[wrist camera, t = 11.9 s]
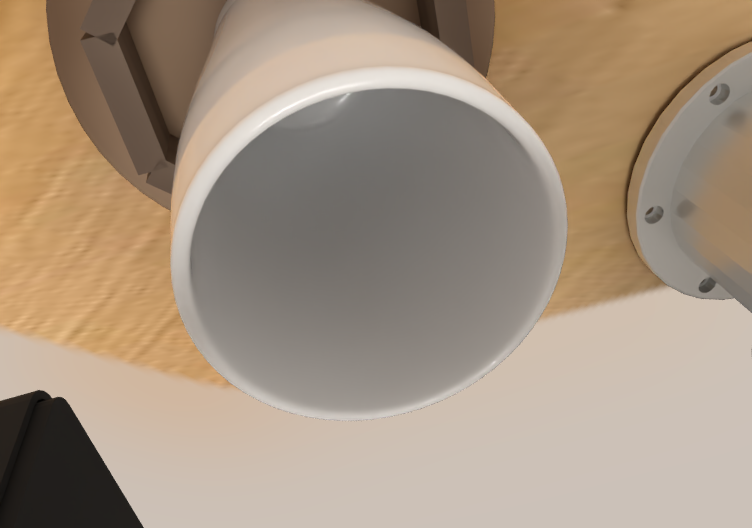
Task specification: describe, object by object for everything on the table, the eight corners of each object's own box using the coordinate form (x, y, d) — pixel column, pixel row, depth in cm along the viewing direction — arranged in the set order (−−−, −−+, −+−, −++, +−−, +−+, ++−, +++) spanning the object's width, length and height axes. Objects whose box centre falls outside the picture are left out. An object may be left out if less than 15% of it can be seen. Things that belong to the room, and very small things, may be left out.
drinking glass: (307, 175, 27) (394, 475, 14) (148, 63, 23) (75, 321, 11) (427, 32, 25) (652, 229, 12) (272, -111, 22) (358, -45, 9)
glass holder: (454, -273, 21) (493, -292, 18) (505, 169, 29) (538, 205, 26) (-40, -154, 20) (-82, -154, 17) (153, 269, 28) (147, 318, 25)
